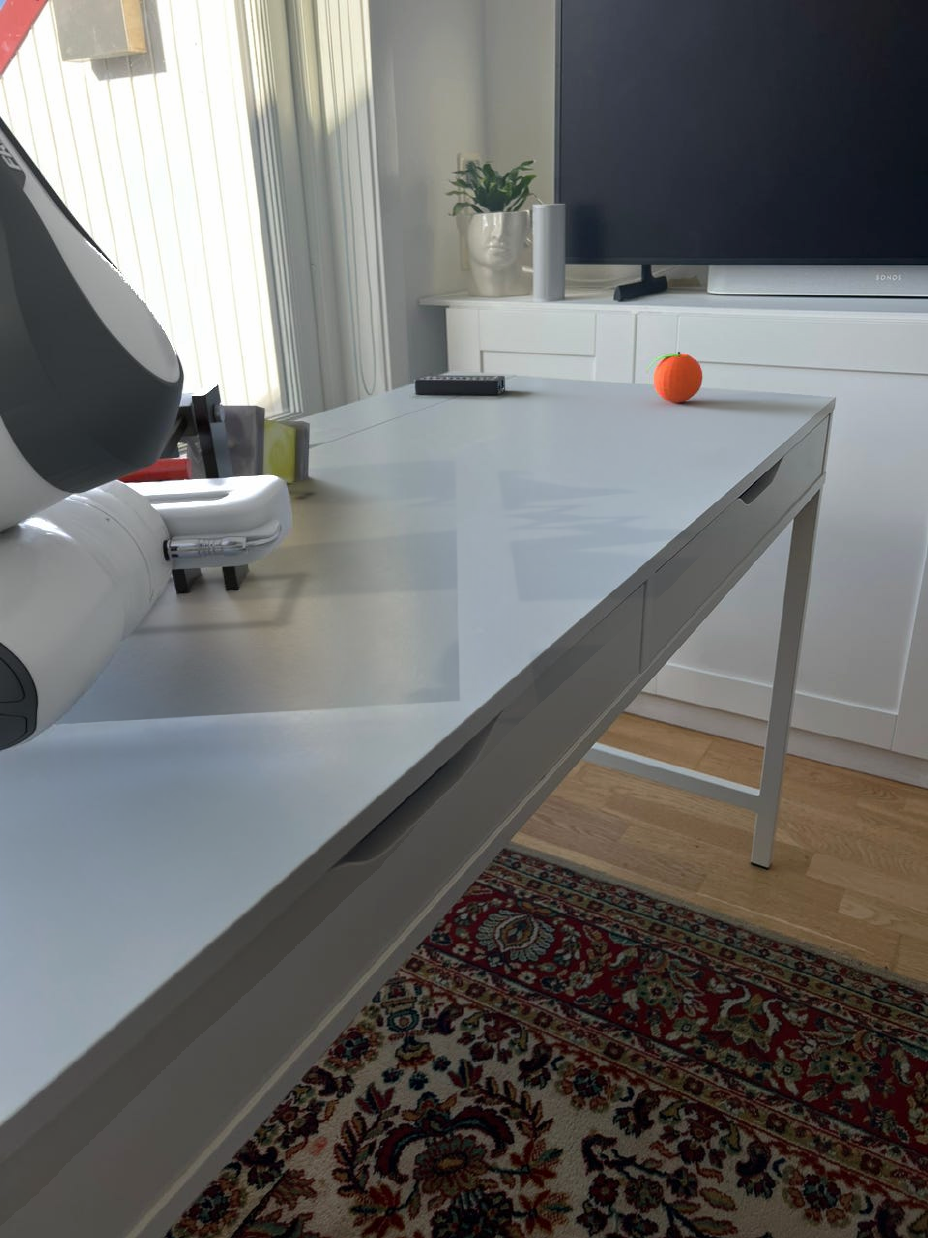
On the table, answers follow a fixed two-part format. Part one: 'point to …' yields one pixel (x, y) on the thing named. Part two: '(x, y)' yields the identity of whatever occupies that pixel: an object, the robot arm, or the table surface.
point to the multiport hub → (459, 385)
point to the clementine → (677, 377)
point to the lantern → (258, 446)
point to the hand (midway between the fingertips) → (157, 487)
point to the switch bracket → (210, 475)
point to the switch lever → (171, 450)
